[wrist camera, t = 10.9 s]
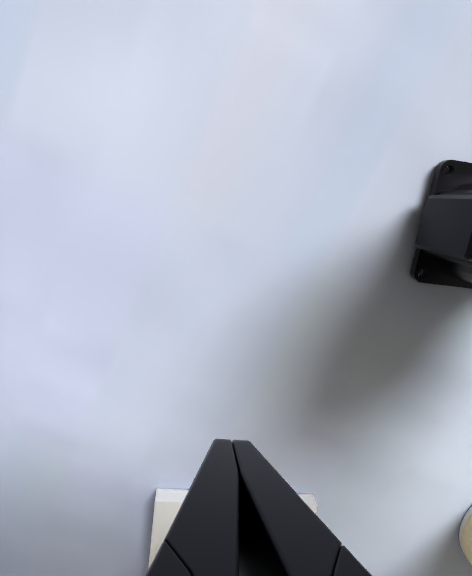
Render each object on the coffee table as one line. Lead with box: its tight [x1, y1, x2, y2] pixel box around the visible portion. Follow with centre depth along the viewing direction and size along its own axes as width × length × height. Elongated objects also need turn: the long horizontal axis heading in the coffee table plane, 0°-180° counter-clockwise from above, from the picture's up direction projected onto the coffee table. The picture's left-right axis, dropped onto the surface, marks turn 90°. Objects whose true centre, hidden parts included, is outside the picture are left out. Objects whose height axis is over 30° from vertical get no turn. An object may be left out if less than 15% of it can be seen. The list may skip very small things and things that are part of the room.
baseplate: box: [148, 489, 317, 569], centre depth 24 cm, size 10×10×1 cm
